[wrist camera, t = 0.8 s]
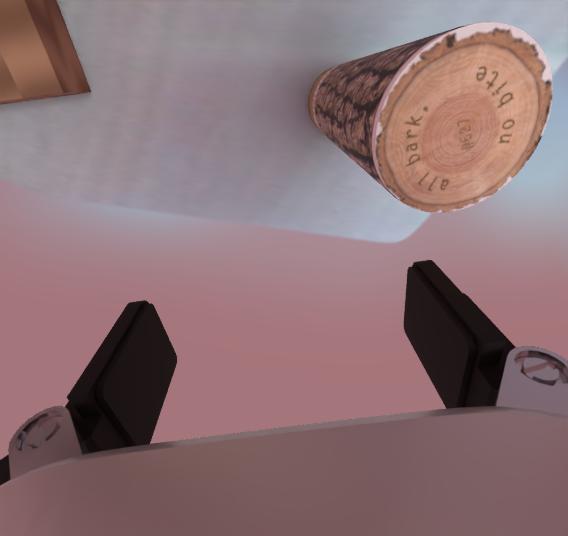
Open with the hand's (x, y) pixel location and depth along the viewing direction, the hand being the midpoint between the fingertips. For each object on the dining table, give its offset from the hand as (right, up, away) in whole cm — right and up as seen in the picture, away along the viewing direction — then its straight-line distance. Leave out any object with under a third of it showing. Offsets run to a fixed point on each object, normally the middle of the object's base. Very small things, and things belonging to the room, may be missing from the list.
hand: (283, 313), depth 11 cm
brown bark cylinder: (+6, +20, +22) cm, 31 cm away
